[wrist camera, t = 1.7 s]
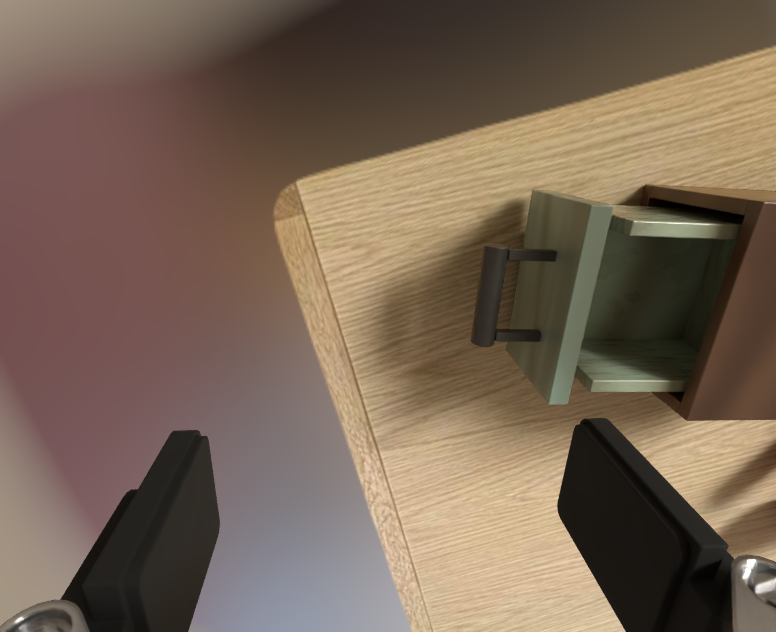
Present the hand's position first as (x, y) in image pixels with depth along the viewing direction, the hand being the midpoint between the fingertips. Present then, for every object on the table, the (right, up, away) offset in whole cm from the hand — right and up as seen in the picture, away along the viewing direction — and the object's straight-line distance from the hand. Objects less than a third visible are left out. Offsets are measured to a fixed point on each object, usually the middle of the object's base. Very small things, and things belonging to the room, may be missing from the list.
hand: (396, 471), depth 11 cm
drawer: (+13, +7, +20) cm, 25 cm away
